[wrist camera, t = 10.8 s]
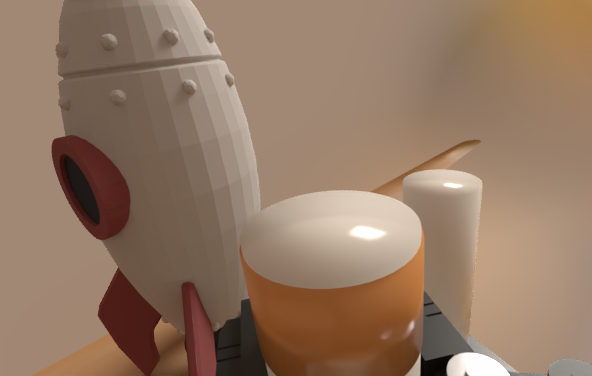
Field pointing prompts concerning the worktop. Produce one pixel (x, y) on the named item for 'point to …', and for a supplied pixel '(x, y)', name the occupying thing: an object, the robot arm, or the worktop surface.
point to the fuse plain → (447, 238)
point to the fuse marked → (336, 285)
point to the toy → (156, 169)
